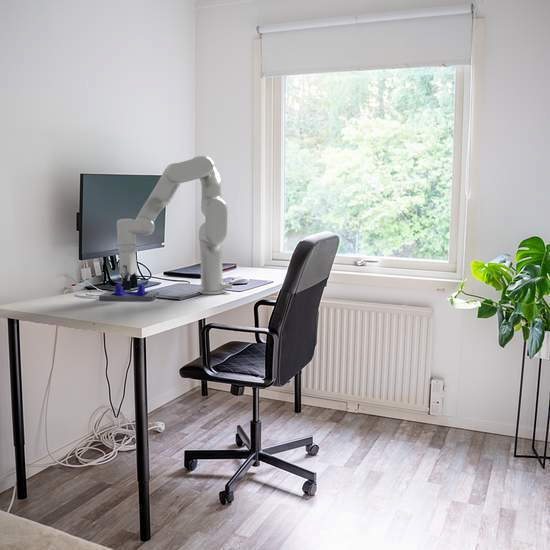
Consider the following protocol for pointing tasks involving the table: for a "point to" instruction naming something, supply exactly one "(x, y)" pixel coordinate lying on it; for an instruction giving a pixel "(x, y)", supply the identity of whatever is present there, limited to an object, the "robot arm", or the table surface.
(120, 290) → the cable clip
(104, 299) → the dark grey flat slab
